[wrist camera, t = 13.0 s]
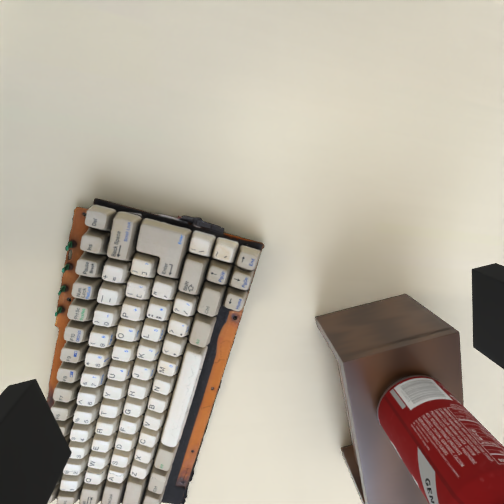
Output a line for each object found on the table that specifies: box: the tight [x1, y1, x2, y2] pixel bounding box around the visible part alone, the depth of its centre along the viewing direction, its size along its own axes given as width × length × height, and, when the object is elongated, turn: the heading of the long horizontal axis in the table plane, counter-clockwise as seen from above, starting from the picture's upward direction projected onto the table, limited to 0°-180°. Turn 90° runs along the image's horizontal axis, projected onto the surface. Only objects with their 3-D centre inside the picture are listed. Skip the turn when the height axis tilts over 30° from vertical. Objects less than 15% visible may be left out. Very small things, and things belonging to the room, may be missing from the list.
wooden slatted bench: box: [315, 294, 463, 504], centre depth 37 cm, size 11×21×9 cm, turn 13°
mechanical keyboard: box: [47, 199, 264, 504], centre depth 36 cm, size 38×19×3 cm, turn 164°
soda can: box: [377, 375, 504, 504], centre depth 26 cm, size 7×7×12 cm
